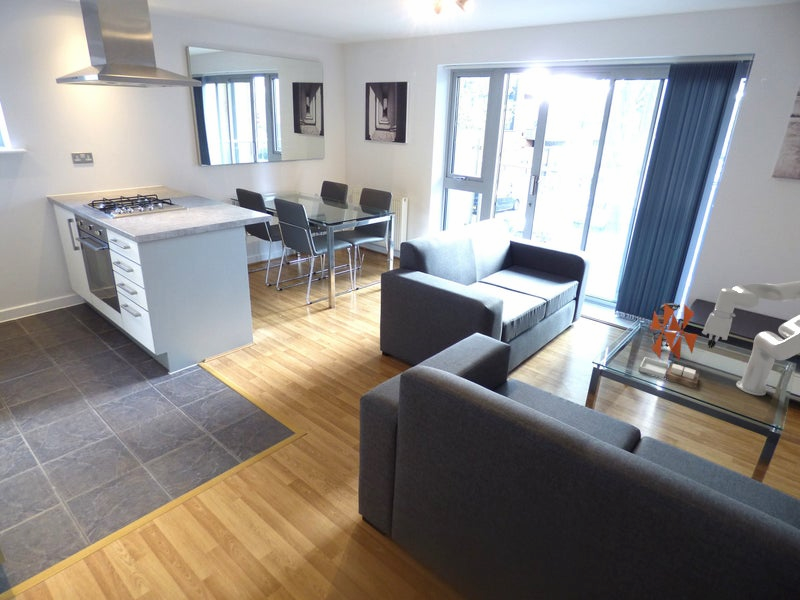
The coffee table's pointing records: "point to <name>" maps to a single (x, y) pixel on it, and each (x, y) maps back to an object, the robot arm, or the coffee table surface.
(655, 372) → the tray
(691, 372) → the cream rectangular block
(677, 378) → the brown wooden box
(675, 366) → the tile far
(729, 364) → the coffee table surface
